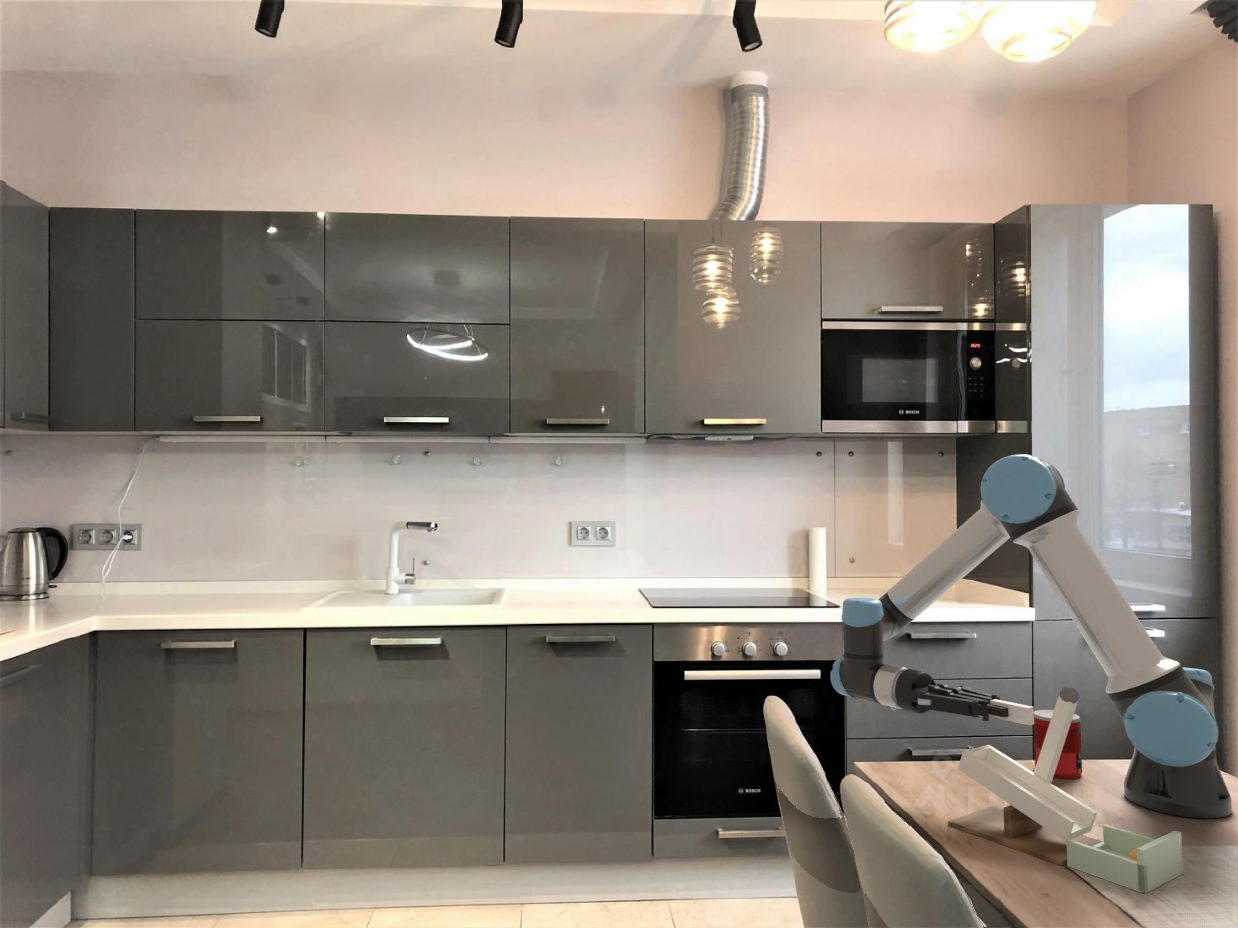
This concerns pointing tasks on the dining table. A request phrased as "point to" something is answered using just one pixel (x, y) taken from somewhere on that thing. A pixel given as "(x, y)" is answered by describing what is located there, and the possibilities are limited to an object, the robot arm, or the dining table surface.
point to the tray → (1113, 863)
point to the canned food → (1071, 751)
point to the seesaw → (1035, 777)
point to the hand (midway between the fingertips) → (1031, 715)
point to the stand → (1018, 832)
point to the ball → (1133, 855)
